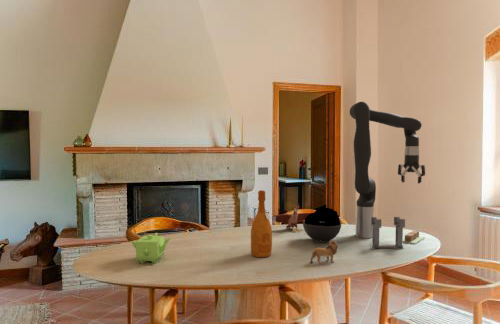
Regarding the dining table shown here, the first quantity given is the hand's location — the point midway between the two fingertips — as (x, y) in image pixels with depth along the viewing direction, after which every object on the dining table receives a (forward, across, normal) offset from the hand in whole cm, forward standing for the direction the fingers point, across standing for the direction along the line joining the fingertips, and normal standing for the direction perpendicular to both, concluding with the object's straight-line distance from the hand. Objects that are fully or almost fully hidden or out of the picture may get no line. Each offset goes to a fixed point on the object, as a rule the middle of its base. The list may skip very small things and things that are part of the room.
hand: (411, 182), depth 211 cm
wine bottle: (+30, +40, +87) cm, 100 cm away
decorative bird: (+30, +57, +34) cm, 73 cm away
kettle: (+30, +71, +124) cm, 147 cm away
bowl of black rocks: (+30, +31, +46) cm, 63 cm away
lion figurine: (+30, +13, +77) cm, 84 cm away
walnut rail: (+30, -4, +10) cm, 32 cm away
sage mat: (+30, -4, +10) cm, 32 cm away
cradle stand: (+30, 0, +36) cm, 47 cm away
